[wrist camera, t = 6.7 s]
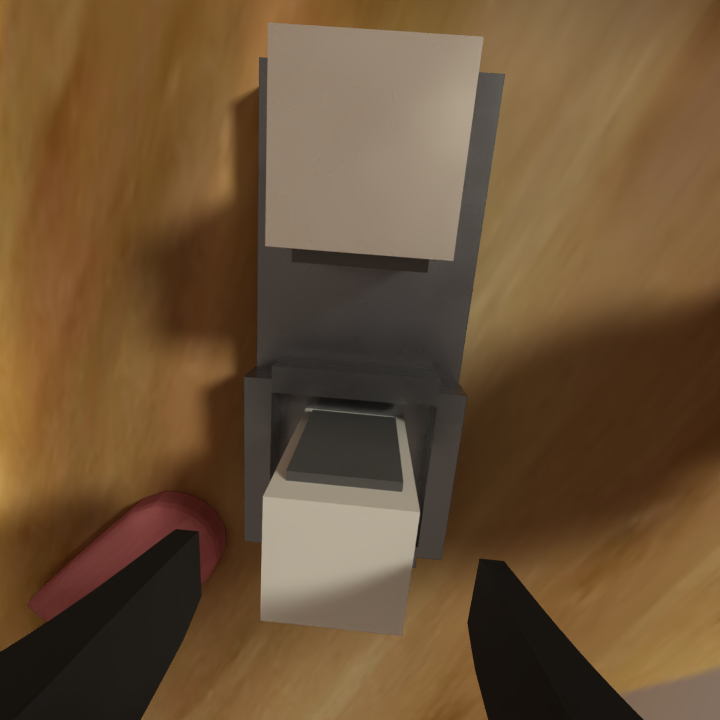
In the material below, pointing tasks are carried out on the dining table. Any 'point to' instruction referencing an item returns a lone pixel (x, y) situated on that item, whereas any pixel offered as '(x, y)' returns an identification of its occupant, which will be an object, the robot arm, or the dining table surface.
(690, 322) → the dining table surface
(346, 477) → the block
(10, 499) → the dining table surface
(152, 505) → the popsicle
